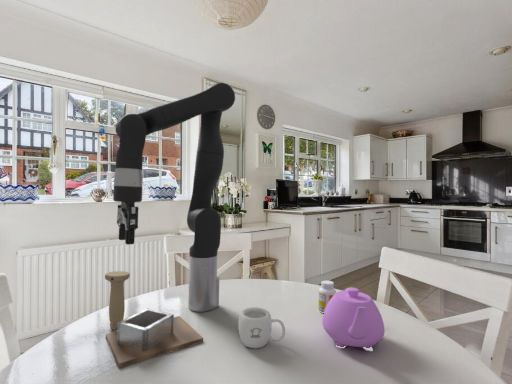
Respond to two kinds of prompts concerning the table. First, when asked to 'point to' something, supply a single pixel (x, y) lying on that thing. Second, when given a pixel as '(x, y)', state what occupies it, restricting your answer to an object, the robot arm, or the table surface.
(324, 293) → the supplement bottle
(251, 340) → the mug
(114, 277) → the handle
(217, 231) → the robot arm
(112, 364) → the table surface
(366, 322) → the teapot
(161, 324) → the collar
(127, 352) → the walnut board
